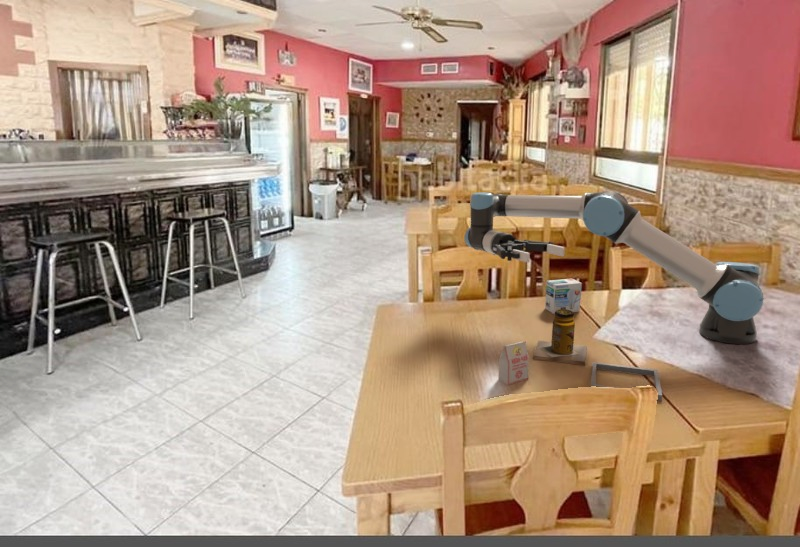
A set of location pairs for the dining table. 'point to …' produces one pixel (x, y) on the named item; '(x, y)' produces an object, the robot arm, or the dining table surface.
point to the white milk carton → (514, 363)
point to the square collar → (627, 370)
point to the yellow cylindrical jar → (562, 334)
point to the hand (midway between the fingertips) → (546, 254)
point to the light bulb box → (563, 295)
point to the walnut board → (572, 359)
